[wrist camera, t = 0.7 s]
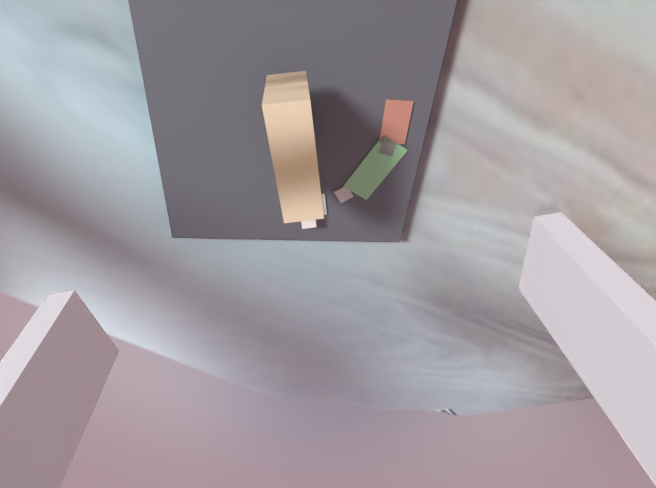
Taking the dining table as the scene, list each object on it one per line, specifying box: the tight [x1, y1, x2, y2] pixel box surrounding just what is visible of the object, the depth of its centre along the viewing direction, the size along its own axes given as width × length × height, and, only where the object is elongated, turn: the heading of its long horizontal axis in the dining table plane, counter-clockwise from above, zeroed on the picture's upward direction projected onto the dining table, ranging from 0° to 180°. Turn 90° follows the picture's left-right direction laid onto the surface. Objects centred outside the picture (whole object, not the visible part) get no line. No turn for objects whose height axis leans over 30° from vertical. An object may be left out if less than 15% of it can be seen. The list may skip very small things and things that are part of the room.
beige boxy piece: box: [262, 71, 324, 229], centre depth 26 cm, size 12×3×8 cm, turn 5°
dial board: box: [129, 0, 457, 242], centre depth 28 cm, size 20×22×2 cm
